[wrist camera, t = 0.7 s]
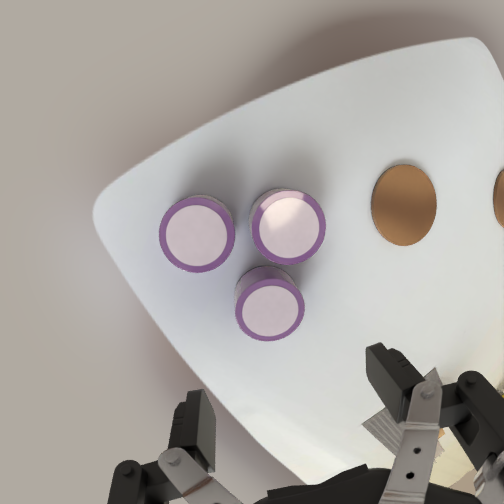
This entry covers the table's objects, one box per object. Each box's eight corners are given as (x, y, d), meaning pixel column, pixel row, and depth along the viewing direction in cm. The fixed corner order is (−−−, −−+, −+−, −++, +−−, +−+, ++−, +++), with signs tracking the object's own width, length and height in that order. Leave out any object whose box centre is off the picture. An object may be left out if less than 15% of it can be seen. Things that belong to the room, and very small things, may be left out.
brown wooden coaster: (364, 170, 21) (366, 170, 21) (427, 160, 21) (431, 160, 21) (376, 253, 23) (379, 254, 22) (436, 235, 23) (439, 236, 23)
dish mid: (241, 197, 21) (243, 199, 18) (306, 182, 21) (318, 182, 18) (257, 260, 22) (261, 273, 19) (318, 244, 22) (331, 254, 19)
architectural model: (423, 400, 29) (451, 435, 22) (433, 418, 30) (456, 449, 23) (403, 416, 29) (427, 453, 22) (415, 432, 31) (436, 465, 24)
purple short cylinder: (227, 274, 22) (226, 289, 19) (289, 258, 22) (298, 270, 19) (242, 328, 24) (244, 348, 21) (300, 314, 24) (309, 331, 21)
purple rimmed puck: (160, 204, 21) (149, 209, 18) (224, 187, 21) (224, 188, 18) (178, 267, 22) (171, 280, 19) (241, 251, 22) (242, 263, 19)
